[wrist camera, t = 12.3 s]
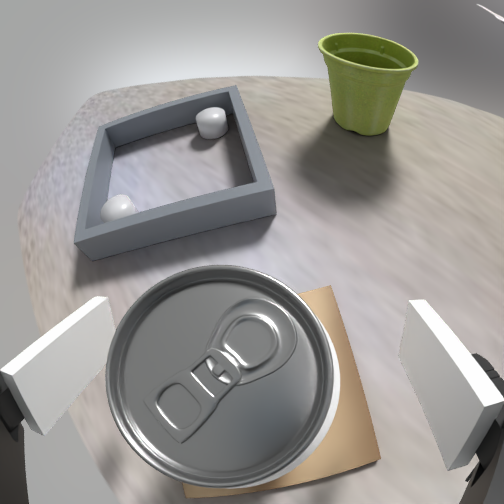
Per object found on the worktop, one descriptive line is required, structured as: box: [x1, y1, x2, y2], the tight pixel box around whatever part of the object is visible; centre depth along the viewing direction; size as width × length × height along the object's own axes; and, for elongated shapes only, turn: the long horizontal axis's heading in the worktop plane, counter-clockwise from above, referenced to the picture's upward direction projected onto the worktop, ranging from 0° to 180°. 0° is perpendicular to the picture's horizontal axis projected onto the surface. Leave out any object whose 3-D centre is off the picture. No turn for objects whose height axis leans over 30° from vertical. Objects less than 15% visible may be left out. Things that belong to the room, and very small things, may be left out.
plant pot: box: [318, 33, 418, 135], centre depth 25 cm, size 9×9×9 cm
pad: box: [182, 285, 381, 498], centre depth 17 cm, size 12×12×1 cm
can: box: [105, 265, 340, 489], centre depth 12 cm, size 6×6×12 cm
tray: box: [74, 85, 276, 261], centre depth 27 cm, size 16×16×3 cm
